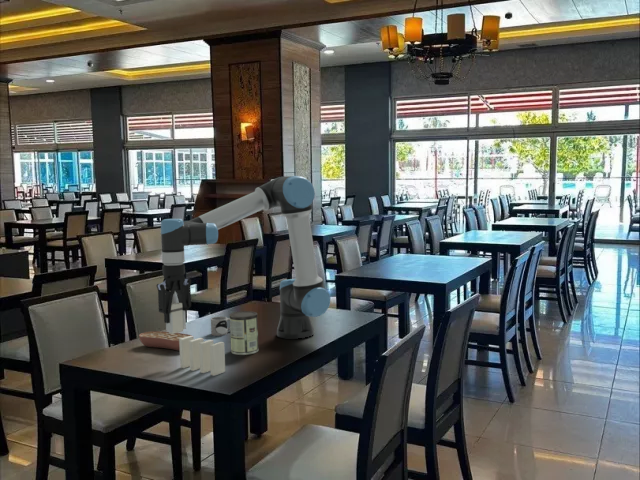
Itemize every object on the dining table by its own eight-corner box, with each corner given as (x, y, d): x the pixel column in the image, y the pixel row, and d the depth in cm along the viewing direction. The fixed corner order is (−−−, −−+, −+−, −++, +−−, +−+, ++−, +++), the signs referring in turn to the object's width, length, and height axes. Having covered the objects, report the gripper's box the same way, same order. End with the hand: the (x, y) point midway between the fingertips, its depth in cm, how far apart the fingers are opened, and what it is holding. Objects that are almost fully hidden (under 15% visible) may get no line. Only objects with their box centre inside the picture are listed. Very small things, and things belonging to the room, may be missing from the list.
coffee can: (238, 346, 241) (237, 310, 240) (263, 348, 238) (261, 311, 236) (225, 354, 231) (224, 316, 230) (251, 355, 228) (250, 317, 227)
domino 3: (204, 367, 216) (203, 338, 215) (193, 370, 212) (192, 341, 211) (201, 366, 217) (200, 337, 216) (190, 369, 213) (188, 340, 212)
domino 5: (225, 371, 210) (224, 342, 209) (214, 375, 206) (213, 345, 205) (221, 371, 211) (220, 341, 210) (210, 375, 207) (209, 345, 206)
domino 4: (214, 369, 213) (213, 340, 212) (203, 373, 209) (202, 343, 208) (211, 368, 214) (210, 339, 213) (200, 372, 210) (198, 343, 209)
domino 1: (183, 331, 220) (182, 303, 220) (172, 334, 217) (171, 305, 216) (180, 330, 222) (179, 302, 221) (168, 333, 218) (167, 304, 217)
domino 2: (194, 364, 219) (193, 336, 218) (183, 368, 215) (182, 339, 214) (191, 363, 220) (190, 335, 219) (180, 367, 216) (179, 338, 215)
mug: (216, 336, 257) (216, 320, 257) (208, 334, 262) (207, 318, 262) (237, 332, 264) (236, 316, 263) (228, 329, 269) (228, 314, 268)
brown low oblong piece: (134, 348, 242) (134, 335, 242) (152, 342, 251) (151, 329, 251) (182, 354, 233) (182, 341, 232) (199, 347, 241) (198, 334, 241)
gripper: (186, 260, 226) (188, 324, 228) (145, 266, 212) (148, 334, 214) (200, 261, 222) (203, 326, 224) (159, 267, 207) (162, 337, 210)
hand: (176, 330), depth 219 cm, fingers closed on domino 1, 5 cm apart
